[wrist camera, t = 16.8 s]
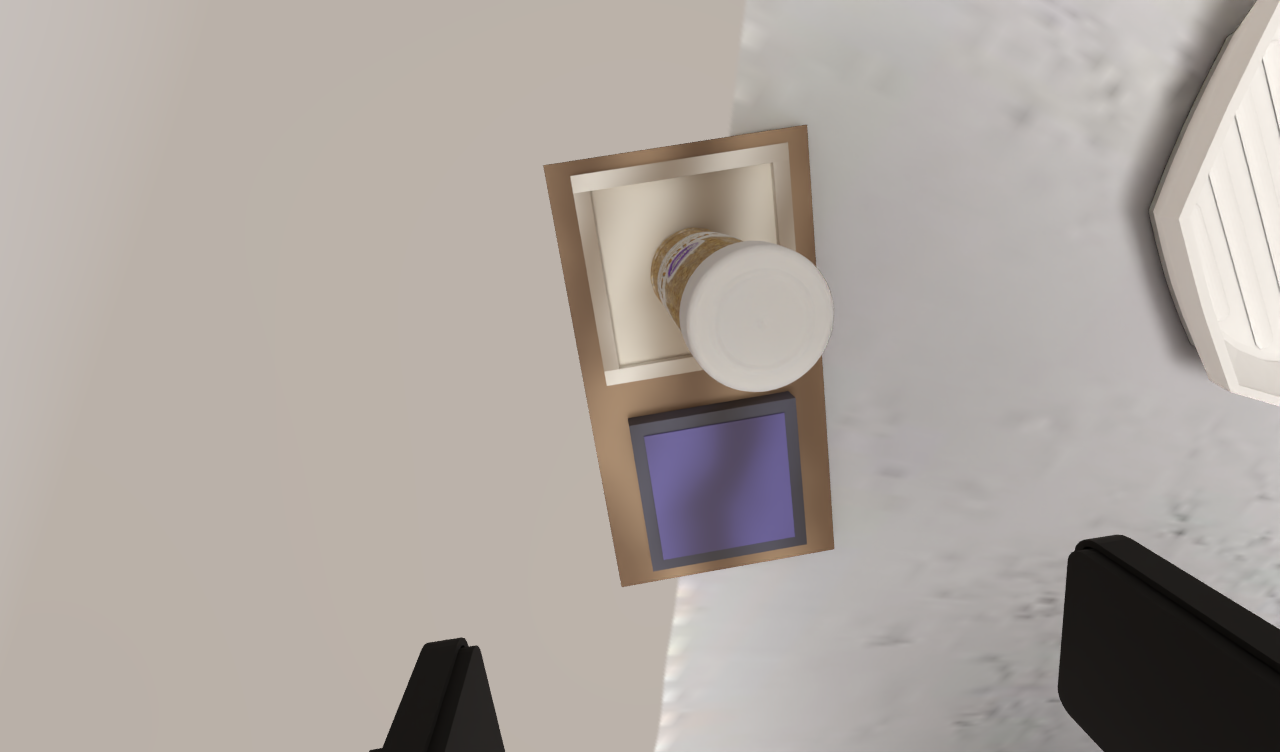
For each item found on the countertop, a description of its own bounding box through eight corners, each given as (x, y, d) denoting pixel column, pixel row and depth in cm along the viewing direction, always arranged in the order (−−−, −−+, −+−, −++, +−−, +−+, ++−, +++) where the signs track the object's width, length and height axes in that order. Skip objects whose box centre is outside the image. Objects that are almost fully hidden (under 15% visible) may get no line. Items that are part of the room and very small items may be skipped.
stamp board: (800, 127, 30) (816, 121, 28) (827, 540, 37) (843, 561, 35) (544, 166, 30) (541, 163, 27) (620, 576, 36) (622, 600, 34)
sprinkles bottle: (672, 212, 30) (730, 217, 17) (752, 250, 30) (866, 283, 18) (634, 296, 31) (661, 362, 18) (712, 331, 31) (793, 418, 19)
